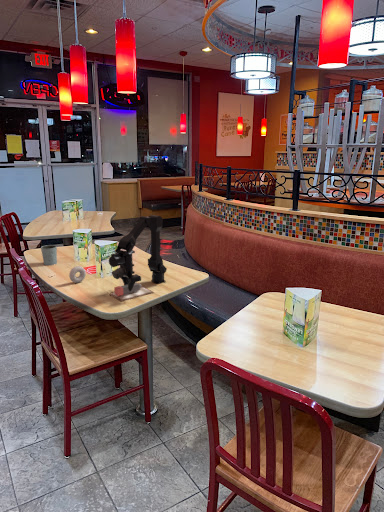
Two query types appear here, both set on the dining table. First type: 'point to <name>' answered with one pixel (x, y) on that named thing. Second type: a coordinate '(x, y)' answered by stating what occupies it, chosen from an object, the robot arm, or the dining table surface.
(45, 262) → the gray cup
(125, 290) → the marker
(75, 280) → the donut
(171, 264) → the dining table surface
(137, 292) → the picture frame
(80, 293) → the dining table surface
